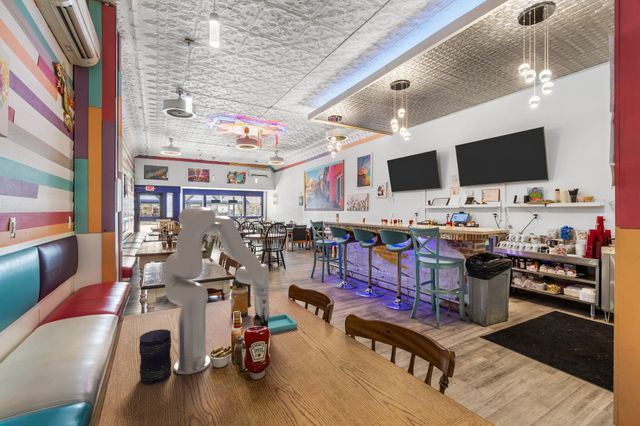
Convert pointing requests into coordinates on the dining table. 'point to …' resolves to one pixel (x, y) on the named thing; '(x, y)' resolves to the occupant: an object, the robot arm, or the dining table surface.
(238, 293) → the canister
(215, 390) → the dining table surface
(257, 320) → the cup
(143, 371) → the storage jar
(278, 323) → the dish
